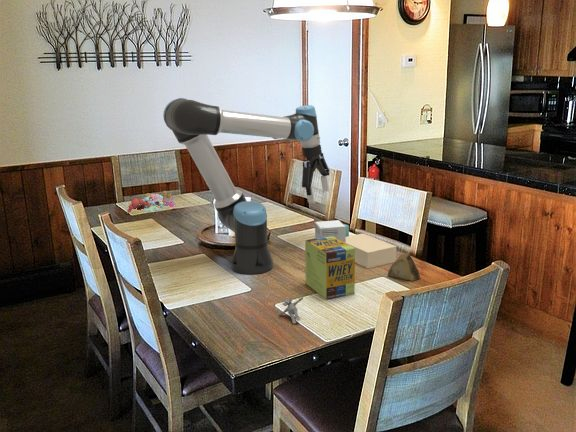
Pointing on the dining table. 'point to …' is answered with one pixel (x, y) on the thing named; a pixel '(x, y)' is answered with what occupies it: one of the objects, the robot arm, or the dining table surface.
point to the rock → (404, 268)
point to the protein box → (330, 267)
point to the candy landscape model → (152, 202)
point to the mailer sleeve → (371, 250)
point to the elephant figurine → (291, 309)
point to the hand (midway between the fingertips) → (319, 196)
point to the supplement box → (330, 230)
